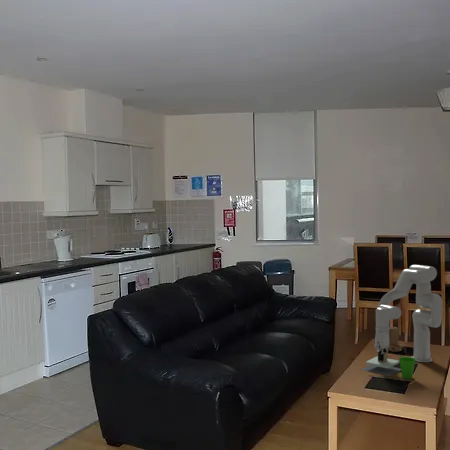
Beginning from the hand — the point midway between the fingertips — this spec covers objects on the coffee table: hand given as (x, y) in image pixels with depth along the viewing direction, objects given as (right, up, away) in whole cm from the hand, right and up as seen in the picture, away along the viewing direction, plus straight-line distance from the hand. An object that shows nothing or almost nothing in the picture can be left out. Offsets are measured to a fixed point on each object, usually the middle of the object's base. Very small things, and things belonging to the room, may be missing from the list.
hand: (382, 359), depth 308 cm
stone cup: (+21, -5, +47) cm, 51 cm away
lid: (0, -2, 0) cm, 2 cm away
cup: (+9, -7, -15) cm, 19 cm away
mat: (-1, -6, 0) cm, 6 cm away
